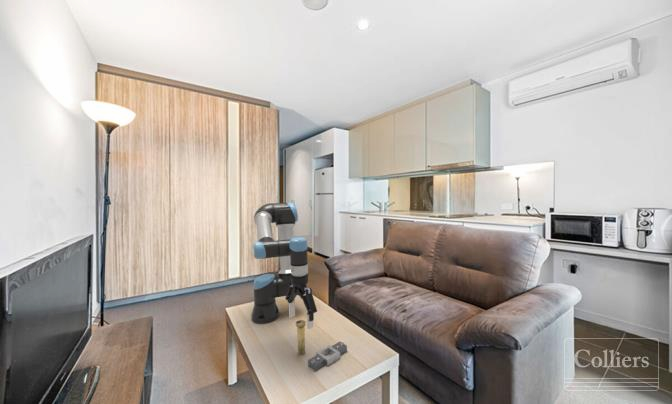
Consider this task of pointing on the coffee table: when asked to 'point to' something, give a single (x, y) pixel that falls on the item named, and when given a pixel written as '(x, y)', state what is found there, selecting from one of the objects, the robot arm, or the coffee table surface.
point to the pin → (301, 336)
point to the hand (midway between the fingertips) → (300, 322)
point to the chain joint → (322, 360)
